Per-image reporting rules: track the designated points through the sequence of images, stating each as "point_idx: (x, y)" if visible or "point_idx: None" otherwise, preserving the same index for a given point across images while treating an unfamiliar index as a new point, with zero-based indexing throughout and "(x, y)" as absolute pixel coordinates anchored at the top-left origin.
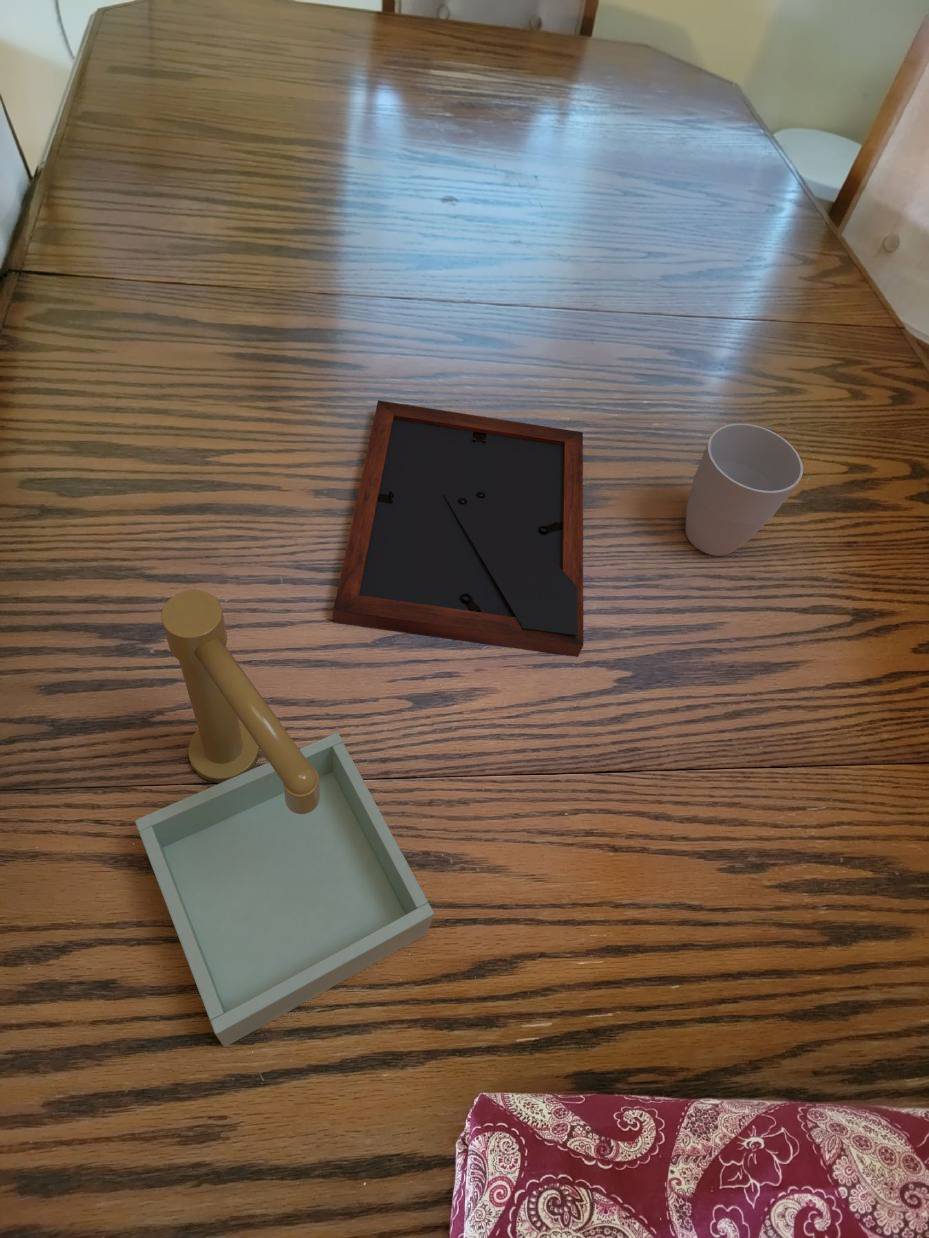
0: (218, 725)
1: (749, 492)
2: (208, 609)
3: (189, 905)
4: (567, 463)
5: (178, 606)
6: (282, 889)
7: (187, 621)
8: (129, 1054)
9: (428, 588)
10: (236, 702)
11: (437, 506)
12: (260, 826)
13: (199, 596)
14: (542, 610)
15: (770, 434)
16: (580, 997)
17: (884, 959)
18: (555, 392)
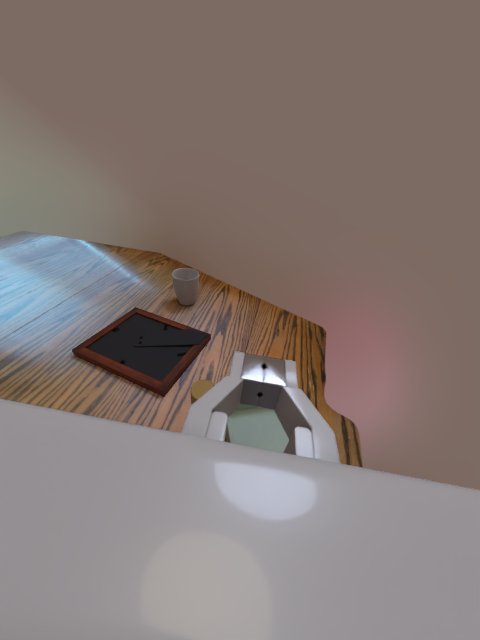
0: None
1: (195, 279)
2: (203, 383)
3: None
4: (145, 314)
5: (198, 393)
6: (264, 438)
7: (206, 391)
8: None
9: (169, 362)
10: None
11: (136, 349)
12: (239, 440)
13: (195, 385)
14: (195, 338)
15: (179, 269)
16: (304, 373)
17: (300, 321)
18: (110, 308)
